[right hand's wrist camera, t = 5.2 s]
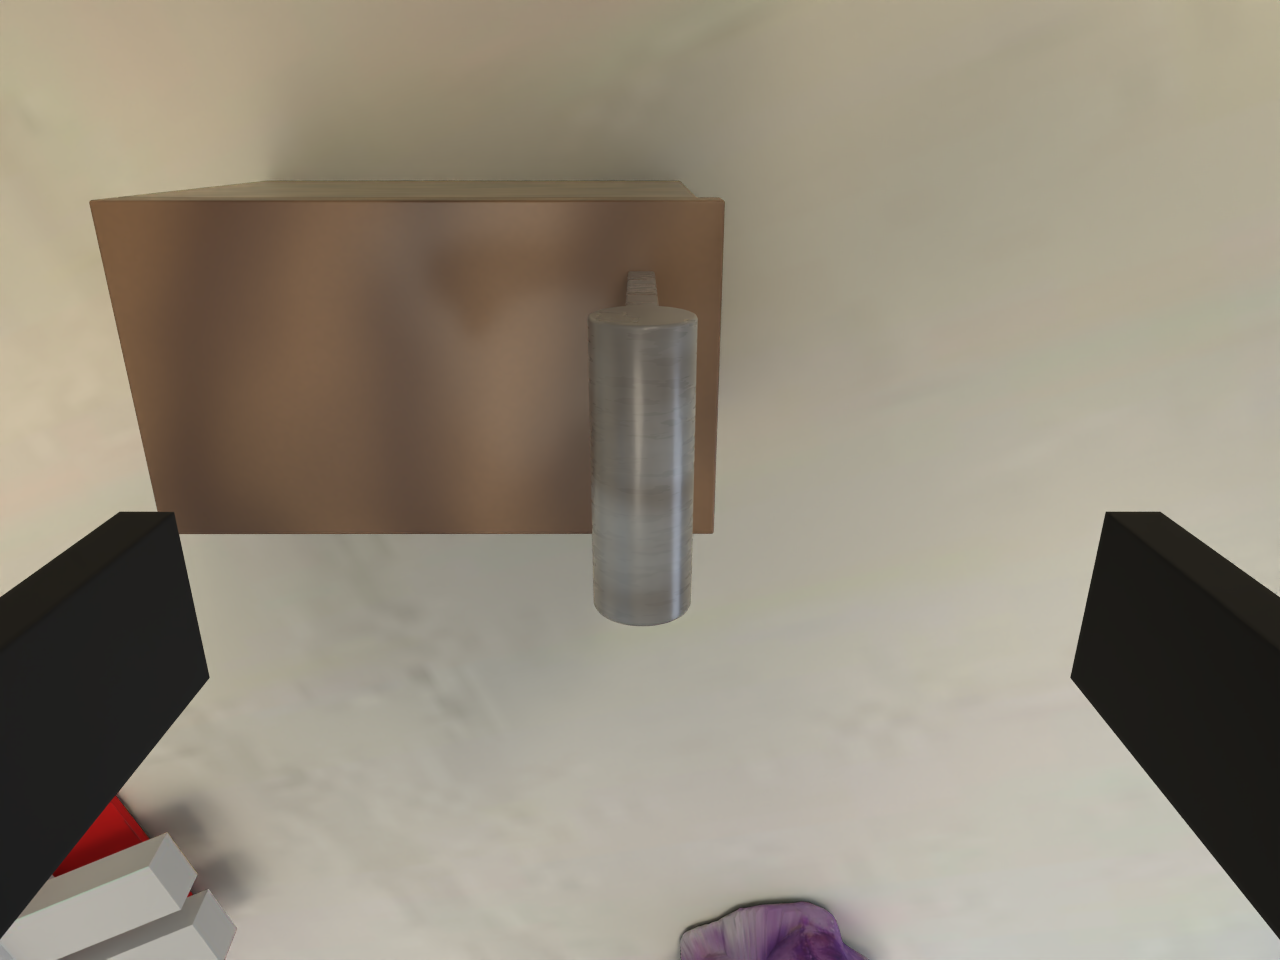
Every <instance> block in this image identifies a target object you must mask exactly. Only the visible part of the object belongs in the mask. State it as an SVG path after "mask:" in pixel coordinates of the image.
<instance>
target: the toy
mask: <svg viewBox="0 0 1280 960" xmlns="http://www.w3.org/2000/svg"><path fill="white" fill-rule="evenodd" d="M197 875H198V874H197V872H196V871H195V870H194V868H193V867H192V865H191V864H190V863H189V861H188V860H187V858H186V857H185V856H184V854H183V853H182V852H181V850H180V849H179V847H178V846H177V845H176V843H175V842H174V841H173V839H172V838H171V836H170V835H169V834H168V832H167V833H164V834H162V835H159V836H157V837H154V838H152V839H149V838H148V836H147V835H146V834H145V833H144V831H143V830H142V829H141V827H140V826H139V825H138V824H137V822H136V821H135V820H134V818H133V817H132V816H131V815H130V813H129V812H128V811H127V809H126V808H125V807H124V806H123V804H122V803H121V802H120V800H119V799H118V798H117V797H116V795H115V797H114V798H113V799H112V800H111V802H110V803H109V804H108V805H107V807H106V808H105V809H104V810H103V812H102V813H101V814H100V815H99V817H98V818H97V819H96V820H95V822H94V823H93V824H92V825H91V827H90V828H89V829H88V830H87V832H86V833H85V834H84V835H83V837H82V838H81V839H80V840H79V842H78V843H77V844H76V845H75V847H74V848H73V849H72V850H71V852H70V853H69V854H68V855H67V857H66V858H65V859H64V860H63V862H62V863H61V864H60V865H59V867H58V868H57V869H56V870H55V872H54V873H53V874H52V875H51V877H50V878H49V879H48V880H47V882H46V883H45V884H44V885H43V887H42V888H41V889H40V890H39V892H38V893H37V894H36V895H35V897H34V898H33V899H32V900H31V902H30V903H29V904H28V905H27V907H26V908H25V909H24V910H23V912H22V913H21V914H20V915H19V917H18V918H17V919H16V920H15V922H14V923H13V924H12V925H11V927H10V928H9V929H8V930H7V932H6V933H5V934H4V935H3V937H2V938H1V939H0V960H225V958H226V956H227V953H228V951H229V948H230V945H231V943H232V940H233V938H234V935H235V932H236V930H237V928H236V926H235V925H234V923H233V922H232V921H231V919H230V918H229V916H228V915H227V914H226V912H225V911H224V910H223V908H222V907H221V905H220V904H219V903H218V901H217V900H216V899H215V897H214V896H213V894H212V893H211V892H210V890H209V889H207V890H204V891H202V892H199V893H197V894H194V895H193V894H192V893H191V892H190V890H191V887H192V885H193V883H194V881H195V879H196V877H197Z"/></svg>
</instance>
